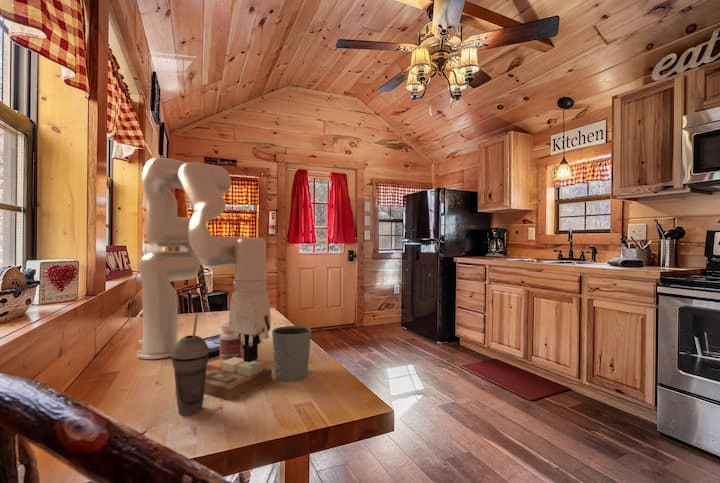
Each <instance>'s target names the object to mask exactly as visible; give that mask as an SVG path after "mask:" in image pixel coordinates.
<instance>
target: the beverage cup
mask: <svg viewBox="0 0 720 483" xmlns="http://www.w3.org/2000/svg"><path fill="white" fill-rule="evenodd" d="M198 316H199V314H195V316H194V321H193V322H194V324H193V332H192V334H190V335H186V336H183V337H182V338H180V339H179V340H178V342H177V344H176V345H175V346H174V349H173V352H172V356H171V357H170V358H171V364H172V367H173V372H174V380H175V393H176V405H177V408H178V414H179V416H193V415H196V414H198V413H200V412H201V411H203V410H202V409H203V404H204V396H205V393H204V387H205V376H206V365H207V363H209V362H208V361H209V356H210V352H209V346H208V344H207V343H206V341H205V340H204V339H203V338H202V337H200V336H199V335H196V334H197V325H198V318H199V317H198ZM192 414H193V415H192Z"/></svg>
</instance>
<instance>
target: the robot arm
mask: <svg viewBox="0 0 720 483" xmlns="http://www.w3.org/2000/svg"><path fill="white" fill-rule="evenodd" d="M141 180H142V188H143V190H144V193H145V200H146V208H145V209H146V210H145V216H146V217H145V237H146V238H145V239H146V242H147V243H148V244H149V245H150V246H152V247H158V248H173V247H174V248H175V247H176V248H178V247H179V250H174V251H173V250H163V251H161V250H160V251H152V252H148V253H146V254H143V256H142V257H141V258H140V260H139V263H138V269H139V276H140V280H141V287H142V288H141V289H142V337H141V339H139V340H138V344H140V345H141V349H139V350H138V351H137V352H136V357H137V358H138V359H142V360H159V359H167V358H171V356H172V352H173V349H174V346H175V345H176V344H177V342H178V341H179V340H178V336H179V335H178V332H179V331H178V328H179V327H178V326H179V325H178V324H179V323H178V321H179V318H178V317H179V316H178V313H179V312H178V310H179V309H178V305H179V304H178V303H179V302H178V293H177V291H176V289H175V288H174V286H173V285H172V284H171V282H177V281H186V280H187V281H188V280H192V279H194V278H196V277H197V276H198V274H199V273H200V269H201V268H200V267H201V264H202V265H203V266H206V267H209V268H210V267H212V268H213V267H228V266H229V267H230V266H232V267H233V266H234V282H233V287H234V291H233V292H232V294H231V298H230V305H229V315H228V317H229V318H228V322H229V329H230V331H232V332H233V333H234V335H236V336H239V338H240V339H241V343H242V346H243V359H244V361H245V362H252V361H257V360H258V357H259V356H258V355H259V353H258V352H259V351H258V349H259V347H258V345H259V344H260V343H261V341H262V340H266V339H269V336H270V335H269V332H270V331H271V330H270V329H271V321H272V320H271V306H270V305H271V304H270V299H269V294H268V292H267V243H266V240H265V238H262V237H254V236H253V237H248V236H247V237H244V236H221V235H220V236H212V234H211V233H210V230H209V229H208V228H209V227H208V226H207V223H206V222H208V221H211V220H214V219H215V218H216V219H217V217H218V216H220V215H221V214H223V212H224V211H225V209H226V207H227V206H226V205H227V204H226V201H225V199H224V197H223V195H225V194H226V193H228V192H229V190H230V189H231V185H232V179H231V176H230V173H229V172H228V171H227V169H225V168H224V167H223V166H219V165H215V164H210V163H205V162H198V161H189V162H188V161H184V160H179V159H175V158H168V157H153V158H150V159H149V160H148V161H147V162H145V165H144V167H143V170H142V176H141ZM170 188H171V189H177V190H178V189H179V190H183V191H184V193H185V196H186V198H187V200H188V203H189V205H190V207H191V209H192V212H193V214H192V216H191V218H190V217H182V216H181V217H180V216H178V207H179V205H178V200H177V198H176V196H175V195H174V194H173V191H171V189H170Z"/></svg>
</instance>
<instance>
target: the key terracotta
mask: <svg viewBox="0 0 720 483" xmlns="http://www.w3.org/2000/svg"><path fill="white" fill-rule="evenodd" d="M222 361H225V360H222V359H220V358H219V359H216V360H213V361H210V362H207V365H206V367H209V368H213V369H217V370H218V369H220V368H221V362H222Z"/></svg>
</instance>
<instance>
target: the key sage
mask: <svg viewBox="0 0 720 483" xmlns="http://www.w3.org/2000/svg"><path fill="white" fill-rule="evenodd" d="M263 368H264V362H261V361H260V362H259V361H256V360H254V361H252V362H244V363H242V364H239V365H237V374H240V375H245V376H249V377H251V376H253V375H256V374H258V373H260V372H262V371H263Z"/></svg>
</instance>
